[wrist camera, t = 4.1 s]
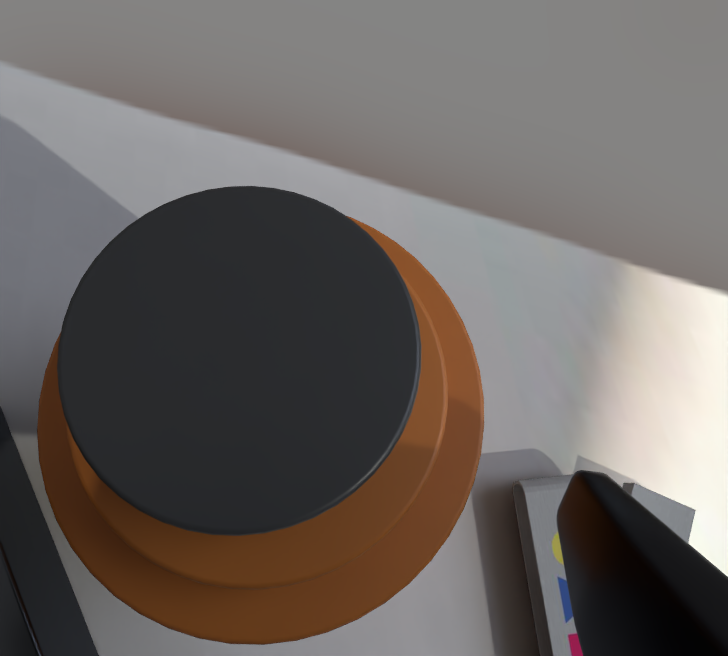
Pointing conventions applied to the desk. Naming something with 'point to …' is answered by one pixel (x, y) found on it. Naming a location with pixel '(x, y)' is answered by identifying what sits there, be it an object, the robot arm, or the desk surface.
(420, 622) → the desk surface
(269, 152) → the desk surface
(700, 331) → the desk surface
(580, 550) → the robot arm
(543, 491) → the usb flash drive
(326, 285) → the amber bottle
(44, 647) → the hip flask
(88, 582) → the desk surface
